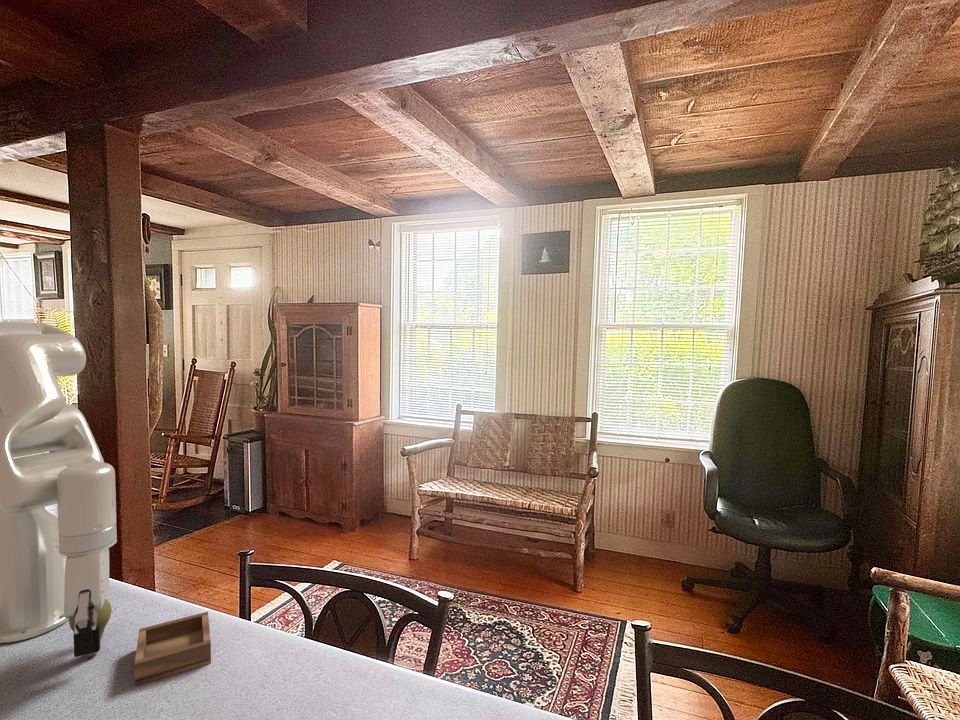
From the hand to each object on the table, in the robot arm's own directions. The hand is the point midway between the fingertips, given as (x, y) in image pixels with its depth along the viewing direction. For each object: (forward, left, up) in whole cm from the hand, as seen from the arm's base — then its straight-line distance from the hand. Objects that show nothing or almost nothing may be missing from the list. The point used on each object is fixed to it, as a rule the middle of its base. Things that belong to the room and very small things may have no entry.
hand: (91, 638), depth 81 cm
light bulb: (0, 0, -3) cm, 3 cm away
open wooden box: (+7, +12, -3) cm, 14 cm away
